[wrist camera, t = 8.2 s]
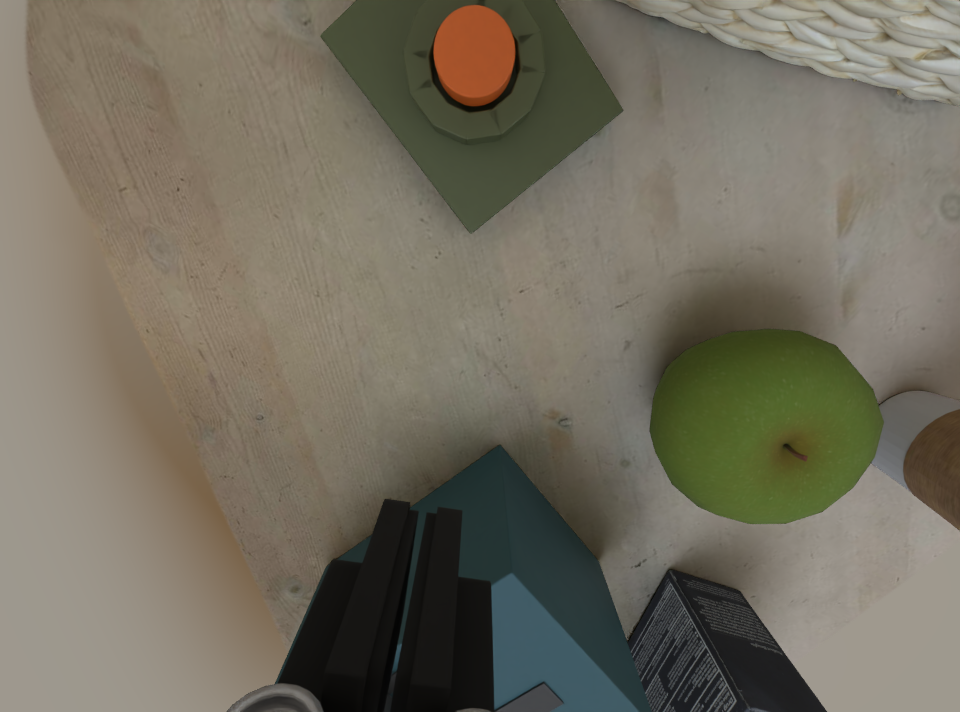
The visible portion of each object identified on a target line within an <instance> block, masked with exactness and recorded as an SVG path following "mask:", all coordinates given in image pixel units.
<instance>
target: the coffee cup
mask: <svg viewBox="0 0 960 712" xmlns="http://www.w3.org/2000/svg"><path fill="white" fill-rule="evenodd" d="M879 409H880V412H881V414H882V417H883V420H884V425H883V428H882V432H881V436H880V440H879V444H878V448H877V451H876V455H875V458H874V459H873V461H872V462H871V463H872V464H873V465H875V466H876V467H877V468H879V469H880V470H882V471H883V472H884V473H886V474H887V475H888V476H890V477H891V478H892V479H894V480H895V481H897V482H898V483H899V484H901V485H902V486H903V487H905V488H906V489H908V490H909V491H910V492H912V494H913V495H914V496H916V497H917V498H918V499H920V500H921V501H922V502H923V503H925V504H926V505H927V506H929V507H930V508H931V509H932V510H934V511H935V512H936V513H938V514H939V515H940V516H942V517H943V518H944V519H945V520H947V521H948V522H949V523H951V524H952V525H953V526H954V527H956V528H957V529H958V530H960V401H959V400H955V399H952V398H949V397H945V396H942V395H939V394H935V393H931V392H926V391H909V392H904V393H901V394H898V395H895V396H893V397H891V398H889V399H888V400H886V401H885V402H883V403H882V404H881V405H879Z"/></svg>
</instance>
